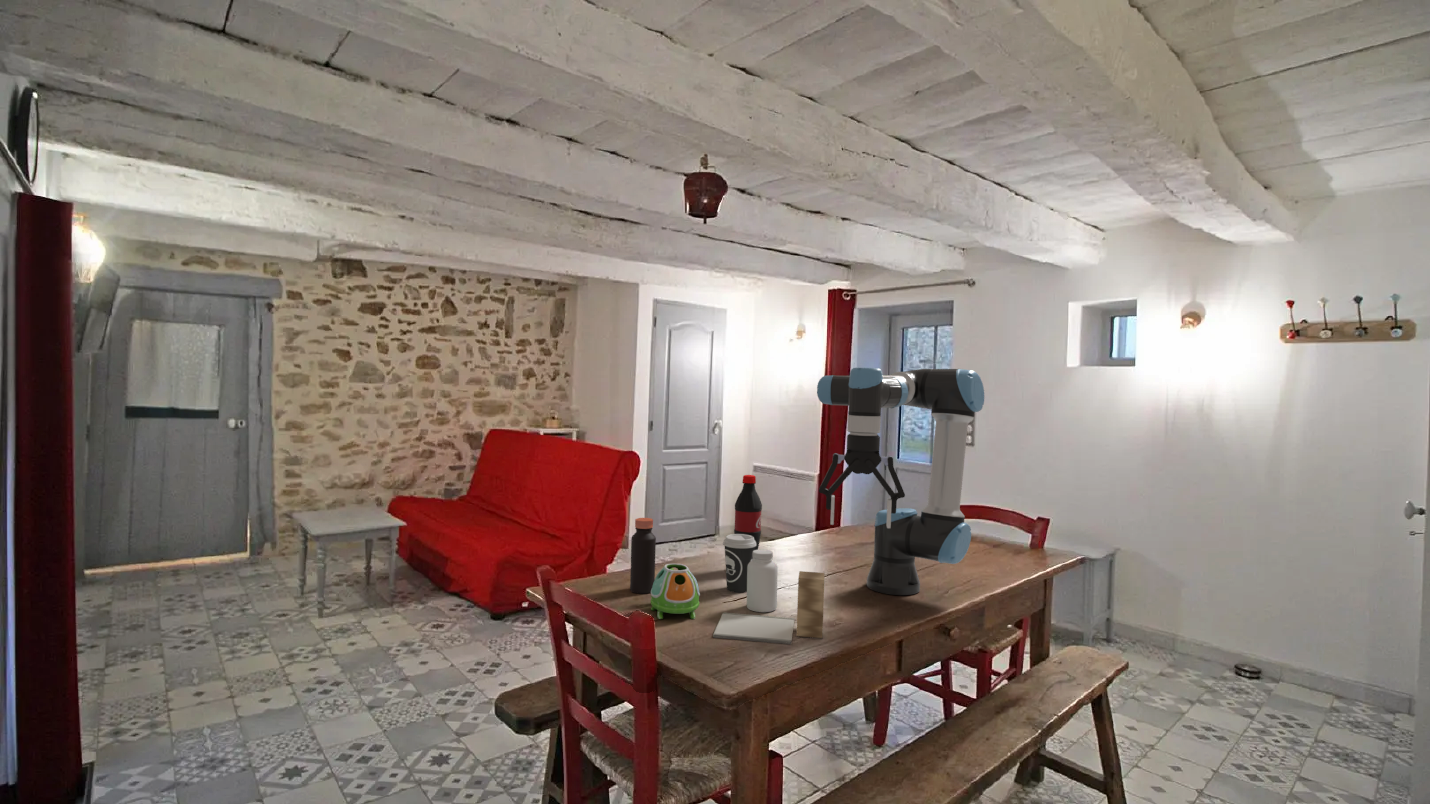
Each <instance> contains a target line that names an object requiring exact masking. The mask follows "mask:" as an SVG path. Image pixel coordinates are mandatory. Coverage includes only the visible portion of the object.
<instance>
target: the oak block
mask: <svg viewBox="0 0 1430 804" xmlns="http://www.w3.org/2000/svg"><path fill="white" fill-rule="evenodd" d="M797 580H798V582H797V607H796V608H797V609H796V610H797V612H796V613H797V614H796V638H801V637H802V638H803V639H804V638H805V639H812V640H813V639H814V640H815V639H817V640H823V634H824V633H823V631H824V630H823V628H824V601H825V572H814V571H802V570H800V571H798V579H797ZM802 638H801V639H802Z"/></svg>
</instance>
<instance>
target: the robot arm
mask: <svg viewBox="0 0 1430 804" xmlns="http://www.w3.org/2000/svg"><path fill="white" fill-rule="evenodd" d="M816 396H817V398H818V400H819V401H820V403H822V404H824V405H830V406H846V407H847V406H848V412H847V432H848V434H847V436H846V453H845V454H839V453H836V452H835V453H833V454H832V461H831V464H830V465H829V468H828V470H827V472H826V474H825V476H824V478H823V480H822V482H821V484H820V486H819V488H818V492H819V494H823V495H825V497H826V499H825V500H826V501H825V503H826V504H825V509H826V510H827V511H828V510H829V511H830V522H829V523H830V525H832V526H833V525H834V524H835V522H834V521H835V498H836V497H835V495H834V493H835V492H836V490H838V488H839V487H840V486H841V484H843V482H844V481H845V480H846V479H847V478H848V477H849V476H850V475H851V474H852V473H854V474H856V475H858V474H859V475H860V474H864V475H870V474H873V475H874V476H875V478H876V480H878V482H879V483H880V485H881V486H882V487H883V489H884V490H885V491H886V493H887V494H888V496H889V497H890V498H889V497H887V501H886V502H887V504H886V505H887V506H886V509H881V510H879V511H878V512H877V513H876V514H875V521H874V541H873V542H874V545H873V546H874V547H873V561H872V564H871V566H870V569H869V571H868V574H867V577H866V587H867V588H868V589H870V590H871V591H873V592H876V593H881V594H886V595H894V596H910V595H915V594H917V593H920V591H921V581H920V578H919V575H918V571H917V567H916V564H915V563H916V562H915V561H916V559H915V558H920V559H923V560H930V561H934V562H939V563H940V564H948V565H949V564H950V565H951V564H952V565H956V564H958V563H960V562H961V561H962V560H963V559H964V558H965V556H967V555H966V554H967V553H968V551H969V548H970V544H971V540H972V531H971V530H972V529H971V526H970V525H969V523H967V522H965V518H966V517H965V516H966V515H964V513H963V512H962V511H961V508H960V507H961V499H962V490H963V488H962V487H963V478H964V467H965V459H966V458H965V457H966V445H967V436H968V427H969V423H971V422H972V421H973V420H974V419H975V413H979V412H981V410H982V409H983V407H984V404H985V388H984V384H983V381H982V379H981V376H980V375H979V373H978V372H976V371H975V370H973V369H972V370H971V369H963V368H920V369H912V370H906V371H896V372H893V373H891V374H890V375H887V374H884V375H883V370H882V369H881V368H880V367H879V368H878V367H853V368H851V370H850V371H849V375H835V374H834V375H833V374H832V375H823V376H821V377H820V379H819V381H818V382H817V385H816ZM901 406H907V407H908V406H909V407H915V408H920V409H926V410H927V409H929V410H931V413H930V415H931V416H932V418H933V419H934V420H935V428H934V438H933V449H932V459H931V470H930V478H929V488H928V489H929V490H928V498H927V505H926V506H924V508H923V509H921V513H920V515H918V511H917V510H916V509H914V508H905V507H904V508H903V507H901V508H897V501H898V500H899V499H903V498H905V497H906V494H905V491H904V488H903V486H902V484H901V482H900V479H899V477H898V474H897V472H896V470H895V468H894V457H893V456H892V455H888V456H881V454H880V449H881V448H880V447H881V445H880V444H881V441H880V440H881V437H880V435H879V434H880V433H881V423H882V422H881V421H882V420H881V419H882V418H881V417H882V409H894V408H899V407H901ZM842 461H844V462H845V463H846V464H847V466H846V468H845V469H844V470H843V472H842V473H841V474H840V475H839V476H838V478H837V479H836V480H835V481H834V482H833V483H832V484H831V486H830V487H829V488H827V486H828V485H829V483H830V481H831V478H832V477H833V474H834V472H835V470H836V469H837V467H838V464H841V463H842ZM881 463H883V465H884V466H885V467H887V469H888V471H889V474H890V476H891V479H892V481H893V484H894V486H895V488H896V491H897V492H894V490H893V489H892V487H891V486H890V485H889V483H888V482H887V480H885V478H884V477H883V475H882V474H881V472H880V471H879V469H878V468H877V467H878V466H879V465H880V464H881Z"/></svg>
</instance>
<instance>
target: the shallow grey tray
mask: <svg viewBox="0 0 1430 804" xmlns="http://www.w3.org/2000/svg"><path fill="white" fill-rule="evenodd" d="M794 627H795V617H783V616H772V615H771V616H770V615H759V614H745V613H734V612H722V614H721V617H720V619H719V621H718V623H717V625H716V627H715V629H714V633H713V634H712V638H715V639H727V640H735V641H736V640H738V641H739V640H740V641H749V642H761V643H772V644H781V645H782V644H783V645H792V640H793V633H794Z"/></svg>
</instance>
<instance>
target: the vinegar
mask: <svg viewBox="0 0 1430 804" xmlns="http://www.w3.org/2000/svg"><path fill="white" fill-rule="evenodd" d="M634 521H635V522H634V523H635V524H634V525H635V526H634V527H635V533H634V534H633V535H632V536H631V538H630V539H631V540H630V541H631V542H630V544H631V545H630V575H629V576H630V577H629V578H630V579H629V580H630V582H629V583H630V584H629V586H630V587H629V589H630V592H632V593H634V594H642V595H643V594H644V595H645V594H646V595H647V594H651V589H652V586H653V583H654V581H655V578H656V549H657V548H656V547H657V546H656V542H657V537H656V535H654V533H653V532H652V531H653V528H654V520H653V518H650V517H638V518H635V519H634Z"/></svg>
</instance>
